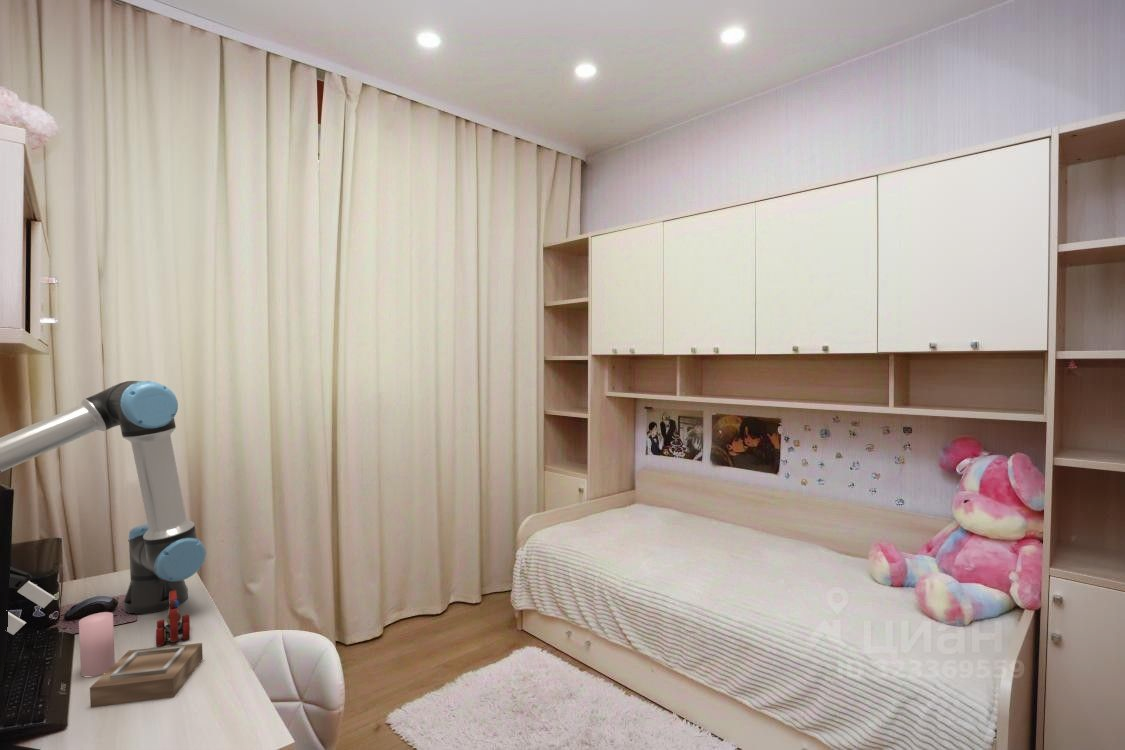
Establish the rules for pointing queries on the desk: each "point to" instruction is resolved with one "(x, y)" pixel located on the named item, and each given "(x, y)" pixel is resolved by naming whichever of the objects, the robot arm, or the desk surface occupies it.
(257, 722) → the desk surface
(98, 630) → the rose cylinder
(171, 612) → the toy fire truck
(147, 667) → the walnut base
